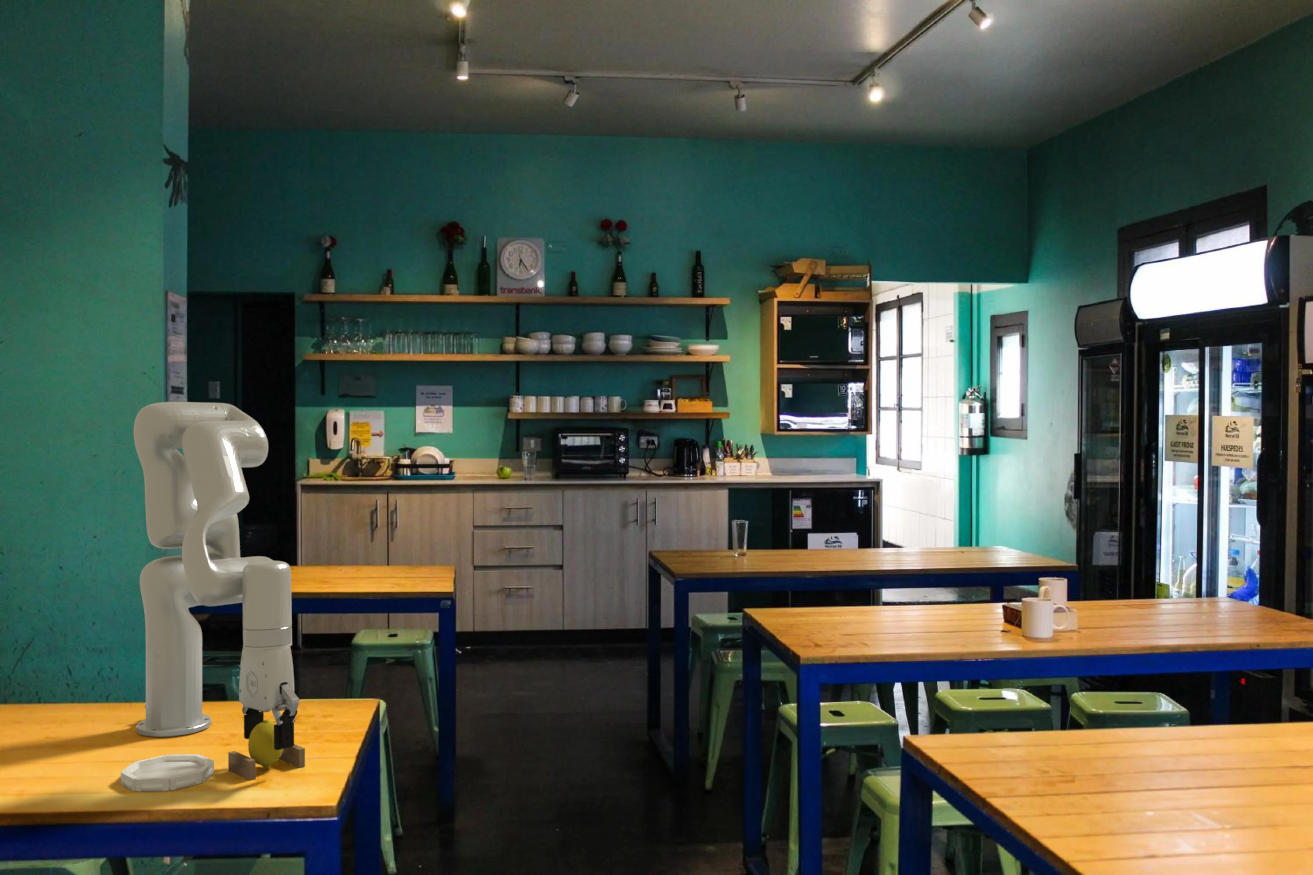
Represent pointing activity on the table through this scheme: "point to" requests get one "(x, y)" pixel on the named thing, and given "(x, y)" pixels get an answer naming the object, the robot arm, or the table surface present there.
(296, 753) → the rack
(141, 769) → the saucer
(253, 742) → the lemon
